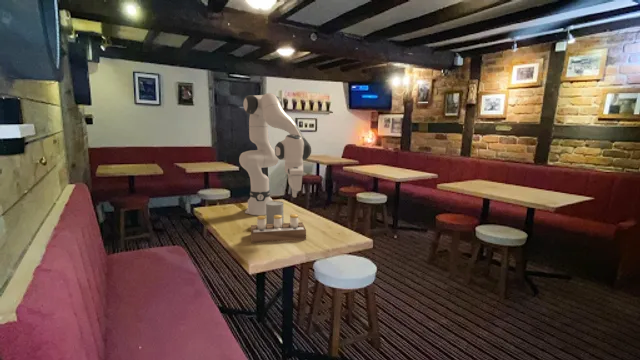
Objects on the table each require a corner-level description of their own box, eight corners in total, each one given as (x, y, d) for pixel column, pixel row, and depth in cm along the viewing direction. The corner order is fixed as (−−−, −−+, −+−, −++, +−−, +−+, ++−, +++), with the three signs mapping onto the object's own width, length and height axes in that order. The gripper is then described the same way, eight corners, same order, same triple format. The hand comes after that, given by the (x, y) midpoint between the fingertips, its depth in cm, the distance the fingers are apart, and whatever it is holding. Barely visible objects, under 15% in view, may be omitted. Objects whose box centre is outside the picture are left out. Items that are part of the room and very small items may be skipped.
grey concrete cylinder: (280, 228, 179) (280, 205, 177) (263, 226, 181) (263, 204, 179) (285, 222, 188) (285, 201, 186) (269, 221, 190) (269, 200, 188)
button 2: (289, 229, 168) (289, 214, 167) (297, 228, 169) (297, 213, 168) (290, 231, 164) (290, 216, 163) (298, 231, 165) (298, 216, 164)
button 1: (257, 231, 165) (256, 215, 163) (265, 230, 166) (265, 215, 164) (257, 233, 161) (257, 218, 159) (266, 233, 162) (265, 217, 160)
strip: (253, 230, 159) (253, 229, 159) (303, 227, 164) (303, 226, 164) (253, 232, 157) (253, 231, 156) (303, 229, 161) (304, 228, 161)
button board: (251, 234, 169) (251, 224, 168) (302, 231, 174) (302, 222, 173) (251, 243, 157) (251, 232, 156) (306, 239, 162) (306, 229, 161)
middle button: (273, 230, 166) (273, 215, 165) (281, 229, 167) (281, 214, 166) (274, 232, 163) (274, 217, 161) (282, 232, 163) (282, 216, 162)
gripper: (285, 166, 170) (285, 192, 173) (290, 171, 151) (290, 201, 153) (297, 165, 172) (297, 192, 174) (304, 171, 152) (304, 201, 154)
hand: (294, 196), depth 163 cm, fingers closed
